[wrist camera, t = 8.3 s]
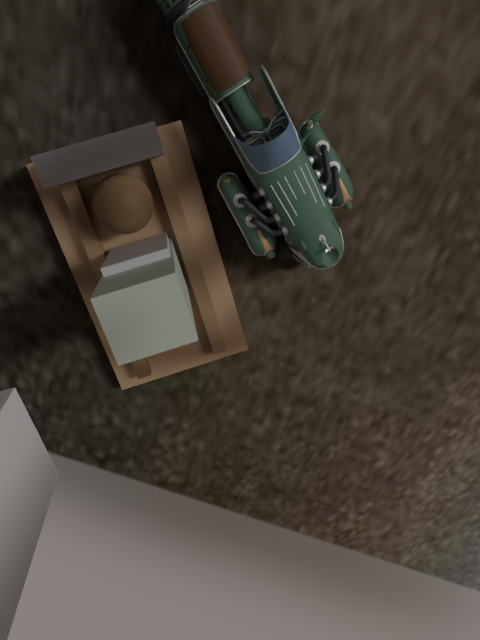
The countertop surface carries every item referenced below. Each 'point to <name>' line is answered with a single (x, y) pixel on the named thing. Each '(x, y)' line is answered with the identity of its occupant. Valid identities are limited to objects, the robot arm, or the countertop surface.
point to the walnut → (122, 203)
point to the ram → (144, 300)
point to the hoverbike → (263, 145)
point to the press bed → (142, 234)
